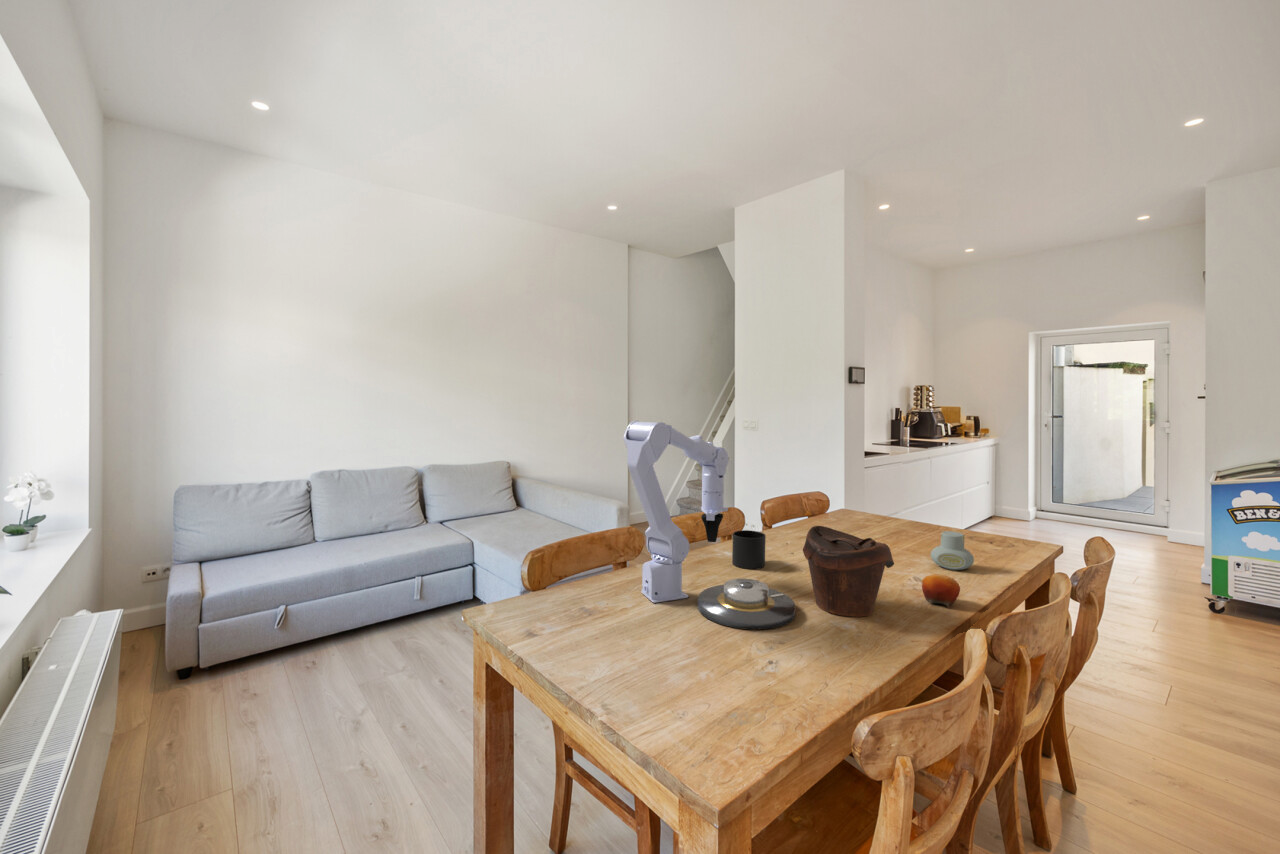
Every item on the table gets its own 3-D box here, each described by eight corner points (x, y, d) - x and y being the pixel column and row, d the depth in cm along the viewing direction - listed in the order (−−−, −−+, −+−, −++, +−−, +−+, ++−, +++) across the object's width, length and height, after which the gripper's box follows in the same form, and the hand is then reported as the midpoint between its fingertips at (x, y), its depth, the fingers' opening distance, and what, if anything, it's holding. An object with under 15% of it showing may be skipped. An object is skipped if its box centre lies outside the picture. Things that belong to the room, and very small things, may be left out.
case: (902, 626, 116) (903, 543, 115) (805, 618, 120) (806, 539, 119) (882, 597, 134) (883, 525, 133) (798, 591, 138) (799, 522, 137)
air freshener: (973, 566, 158) (975, 533, 157) (973, 574, 151) (974, 539, 150) (931, 560, 164) (932, 528, 163) (929, 567, 157) (930, 533, 156)
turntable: (730, 636, 110) (730, 626, 110) (681, 598, 131) (681, 590, 131) (816, 620, 119) (816, 610, 119) (758, 587, 139) (758, 579, 139)
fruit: (921, 601, 127) (922, 568, 130) (921, 608, 133) (922, 576, 136) (961, 608, 123) (961, 573, 126) (958, 615, 129) (959, 581, 132)
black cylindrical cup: (776, 563, 160) (776, 533, 160) (752, 571, 152) (753, 540, 151) (749, 556, 167) (750, 527, 167) (725, 564, 159) (726, 533, 158)
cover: (739, 612, 118) (739, 594, 117) (715, 596, 127) (716, 579, 127) (777, 605, 121) (777, 588, 121) (751, 590, 131) (752, 574, 130)
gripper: (726, 496, 136) (725, 549, 137) (729, 487, 150) (728, 535, 151) (698, 495, 137) (698, 548, 138) (703, 486, 152) (703, 533, 152)
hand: (712, 541), depth 145 cm, fingers closed
